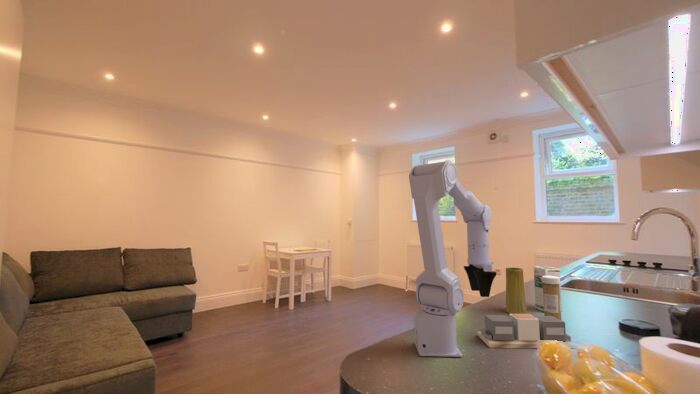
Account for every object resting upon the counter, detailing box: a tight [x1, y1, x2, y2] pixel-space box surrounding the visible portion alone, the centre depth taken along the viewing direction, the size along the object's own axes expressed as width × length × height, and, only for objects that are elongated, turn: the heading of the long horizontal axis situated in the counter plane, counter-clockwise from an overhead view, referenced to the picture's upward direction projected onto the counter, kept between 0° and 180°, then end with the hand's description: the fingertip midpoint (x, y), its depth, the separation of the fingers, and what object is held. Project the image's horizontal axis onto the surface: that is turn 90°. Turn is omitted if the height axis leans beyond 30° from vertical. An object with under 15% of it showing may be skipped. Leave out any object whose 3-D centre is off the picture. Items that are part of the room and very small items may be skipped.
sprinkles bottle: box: [542, 276, 562, 320], centre depth 93 cm, size 5×5×14 cm
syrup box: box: [533, 265, 563, 313], centre depth 105 cm, size 6×6×14 cm
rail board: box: [477, 314, 574, 349], centre depth 77 cm, size 20×8×6 cm, turn 87°
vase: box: [505, 267, 528, 314], centre depth 103 cm, size 6×6×14 cm
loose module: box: [508, 313, 540, 341], centre depth 78 cm, size 5×4×5 cm
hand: (479, 293), depth 89 cm, fingers open, 7 cm apart
